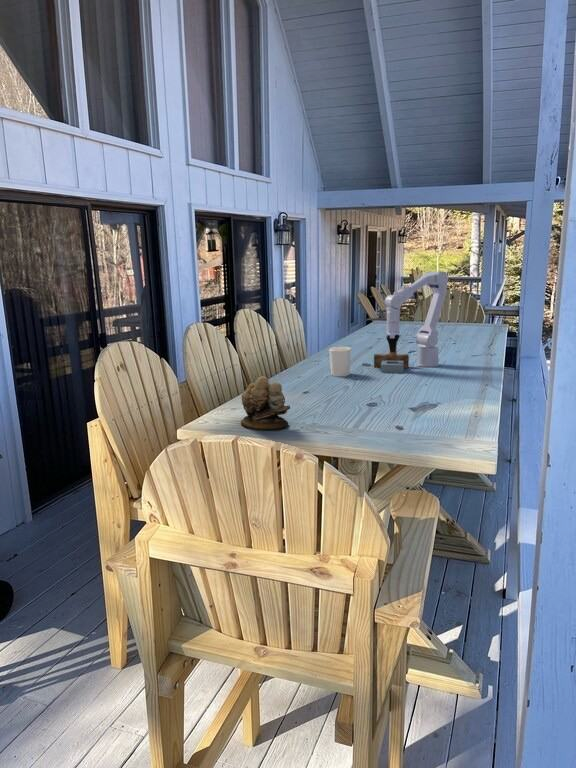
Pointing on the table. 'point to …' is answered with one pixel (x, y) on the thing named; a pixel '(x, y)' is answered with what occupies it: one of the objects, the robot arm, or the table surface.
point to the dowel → (393, 353)
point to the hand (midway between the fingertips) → (392, 351)
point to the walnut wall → (380, 357)
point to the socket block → (392, 366)
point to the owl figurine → (264, 406)
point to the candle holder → (340, 361)
